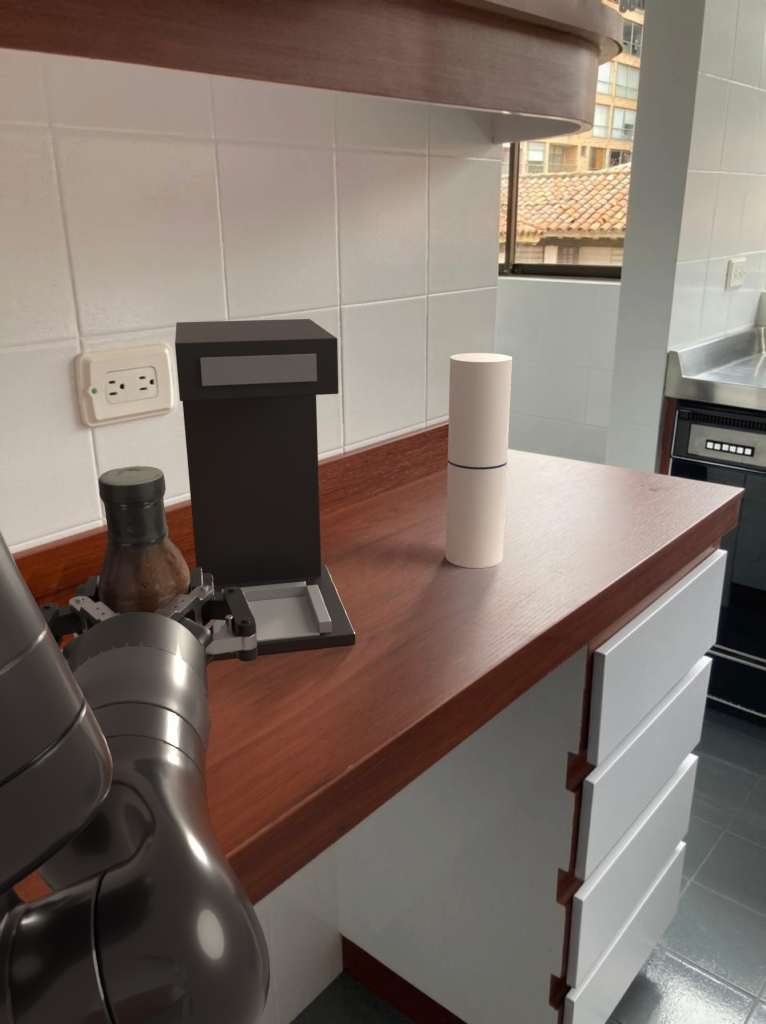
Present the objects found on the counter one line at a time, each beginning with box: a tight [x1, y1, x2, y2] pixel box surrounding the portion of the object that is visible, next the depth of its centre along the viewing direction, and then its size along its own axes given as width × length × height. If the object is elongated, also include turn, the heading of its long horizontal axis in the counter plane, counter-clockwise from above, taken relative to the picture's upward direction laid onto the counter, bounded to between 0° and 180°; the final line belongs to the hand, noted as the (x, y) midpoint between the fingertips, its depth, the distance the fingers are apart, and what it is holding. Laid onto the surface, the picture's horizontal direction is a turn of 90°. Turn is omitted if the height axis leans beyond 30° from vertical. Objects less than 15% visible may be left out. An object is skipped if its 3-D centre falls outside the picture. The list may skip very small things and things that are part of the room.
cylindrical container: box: [445, 352, 513, 569], centre depth 99 cm, size 7×7×25 cm
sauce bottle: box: [97, 465, 191, 614], centre depth 55 cm, size 6×6×20 cm
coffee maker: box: [174, 318, 356, 661], centre depth 83 cm, size 16×18×30 cm
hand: (147, 584), depth 57 cm, fingers closed on sauce bottle, 6 cm apart
